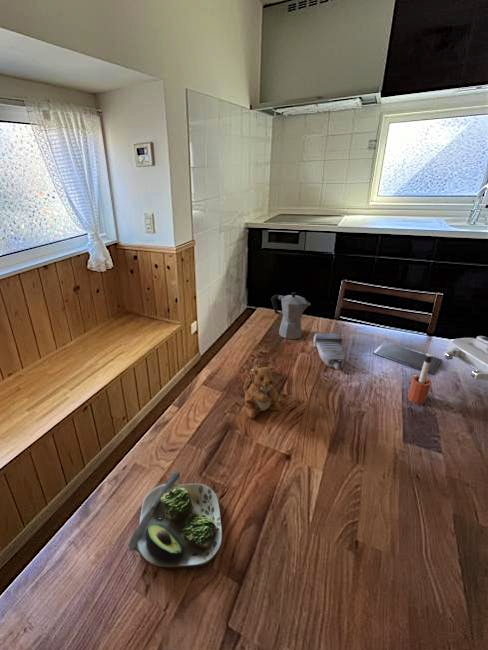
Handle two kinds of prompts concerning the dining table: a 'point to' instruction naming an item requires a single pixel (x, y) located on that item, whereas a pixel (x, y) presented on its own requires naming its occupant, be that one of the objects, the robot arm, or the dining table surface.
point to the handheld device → (330, 349)
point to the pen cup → (419, 390)
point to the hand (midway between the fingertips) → (459, 365)
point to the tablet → (406, 356)
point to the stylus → (425, 368)
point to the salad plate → (178, 526)
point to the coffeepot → (290, 314)
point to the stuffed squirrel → (260, 391)
